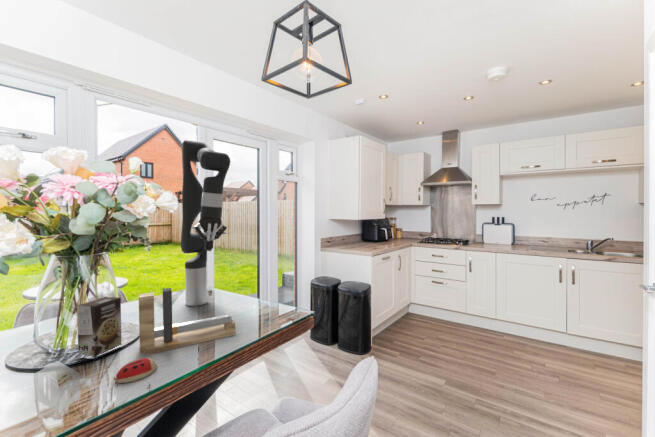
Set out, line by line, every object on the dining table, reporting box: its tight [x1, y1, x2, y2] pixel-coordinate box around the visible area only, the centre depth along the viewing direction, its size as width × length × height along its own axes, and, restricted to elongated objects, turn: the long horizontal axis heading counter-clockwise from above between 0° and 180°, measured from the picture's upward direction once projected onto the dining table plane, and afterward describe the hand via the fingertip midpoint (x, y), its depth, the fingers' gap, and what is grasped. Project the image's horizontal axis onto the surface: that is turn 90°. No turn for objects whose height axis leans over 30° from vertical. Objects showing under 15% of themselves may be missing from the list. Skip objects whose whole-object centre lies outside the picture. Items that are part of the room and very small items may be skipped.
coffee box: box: [77, 296, 122, 357], centre depth 90 cm, size 9×6×16 cm
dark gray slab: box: [162, 287, 173, 342], centre depth 96 cm, size 5×2×16 cm, turn 32°
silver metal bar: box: [154, 313, 233, 338], centre depth 100 cm, size 3×26×3 cm, turn 122°
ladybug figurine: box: [114, 357, 158, 384], centre depth 78 cm, size 7×10×4 cm
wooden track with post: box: [138, 292, 237, 355], centre depth 99 cm, size 9×29×17 cm, turn 122°
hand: (208, 250), depth 112 cm, fingers closed
